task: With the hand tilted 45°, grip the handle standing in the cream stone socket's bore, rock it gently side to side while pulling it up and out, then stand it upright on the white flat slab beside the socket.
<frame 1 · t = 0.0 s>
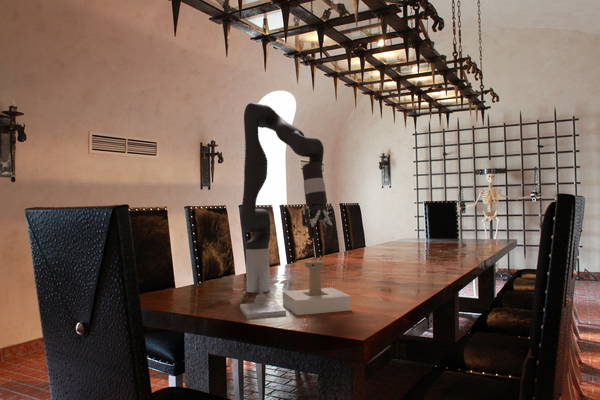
hand: (321, 237, 169), 22 cm above the table, tool pointing down, fingers open, 8 cm apart
socket block: (315, 307, 159), on the table
chalice: (261, 301, 172), on the table
handle: (315, 307, 159), resting in socket block
white flat slab: (262, 312, 154), on the table
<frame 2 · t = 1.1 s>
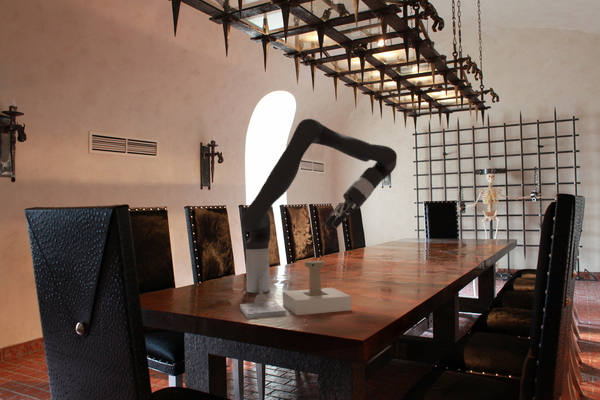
hand: (330, 226, 170), 26 cm above the table, tool tilted 45°, fingers open, 8 cm apart
nothing on the table moved.
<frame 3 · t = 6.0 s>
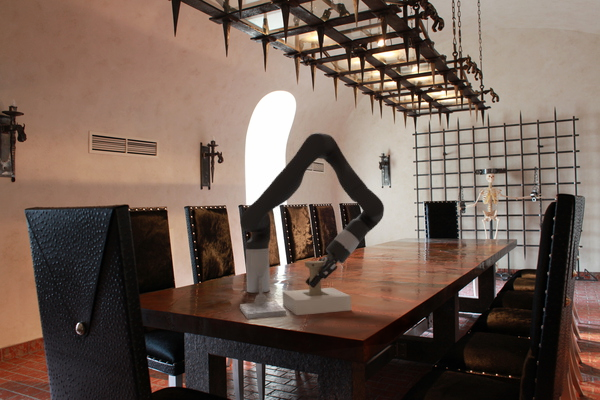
hand: (309, 284, 158), 8 cm above the table, tool tilted 45°, fingers closed on handle, 3 cm apart
handle: (315, 307, 159), resting in socket block, touching gripper
everything else where it was.
when the fingers open (10 cm above the table, at t = 13.4 s): handle drops 1 cm, resting on white flat slab.
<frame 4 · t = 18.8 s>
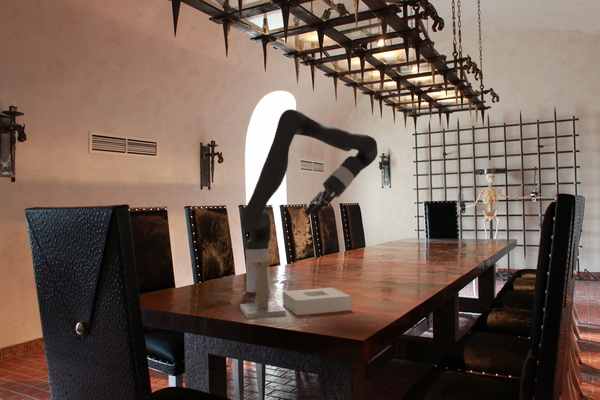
hand: (309, 214, 169), 31 cm above the table, tool tilted 45°, fingers open, 8 cm apart
handle: (263, 308, 153), point 1 cm above the table, touching white flat slab
everything else where it was.
at the end: handle inside the target area on the white flat slab (0.9 cm from its centre), point 1.3 cm above the white flat slab's base; handle tilted 1°; the gripper is holding nothing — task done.
